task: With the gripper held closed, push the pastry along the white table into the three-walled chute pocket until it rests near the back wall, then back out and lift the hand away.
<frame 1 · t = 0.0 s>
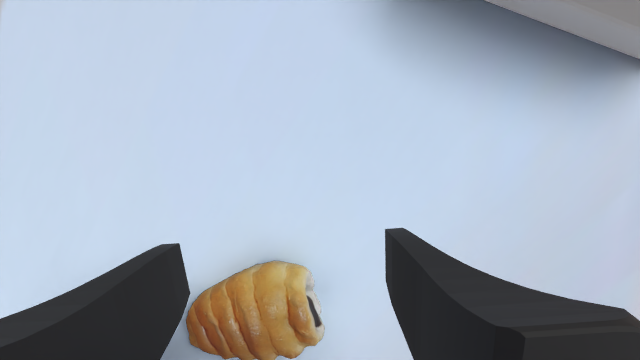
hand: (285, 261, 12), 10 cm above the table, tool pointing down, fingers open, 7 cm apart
pastry: (266, 300, 25), on the table
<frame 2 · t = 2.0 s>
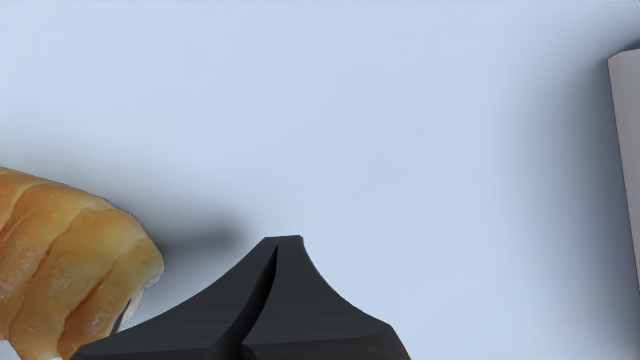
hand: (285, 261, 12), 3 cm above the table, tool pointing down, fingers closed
pastry: (71, 248, 15), on the table
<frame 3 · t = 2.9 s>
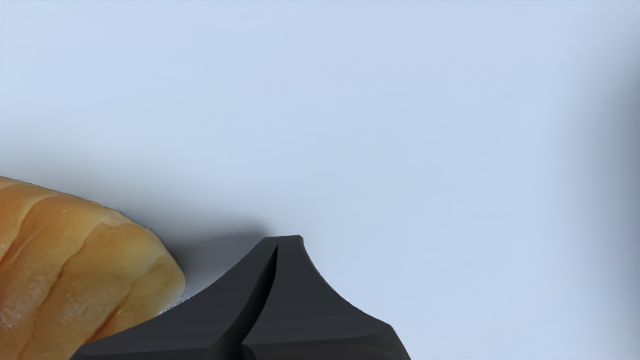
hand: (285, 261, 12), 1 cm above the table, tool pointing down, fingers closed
pastry: (83, 265, 14), on the table
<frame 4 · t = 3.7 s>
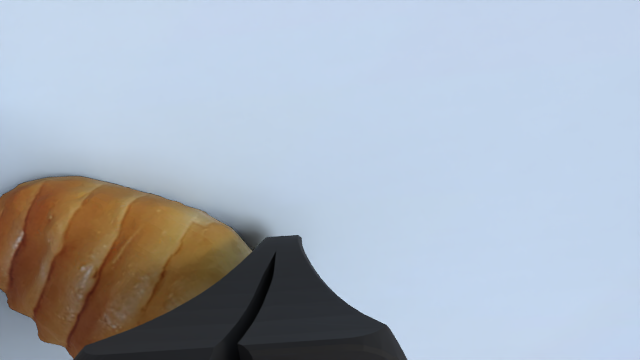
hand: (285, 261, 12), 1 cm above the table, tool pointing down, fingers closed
pastry: (160, 265, 14), on the table, touching gripper
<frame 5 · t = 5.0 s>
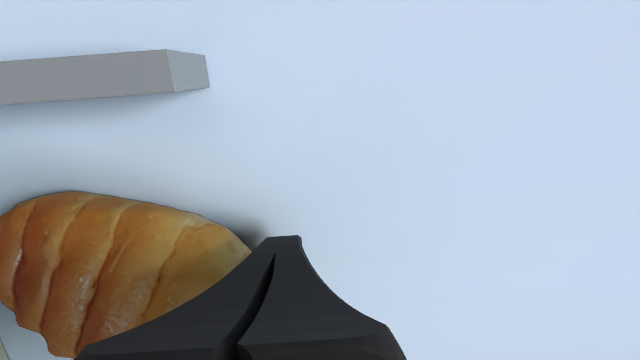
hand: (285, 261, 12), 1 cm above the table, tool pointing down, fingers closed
chute dock: (120, 255, 13), on the table
pastry: (162, 272, 14), on the table, touching gripper
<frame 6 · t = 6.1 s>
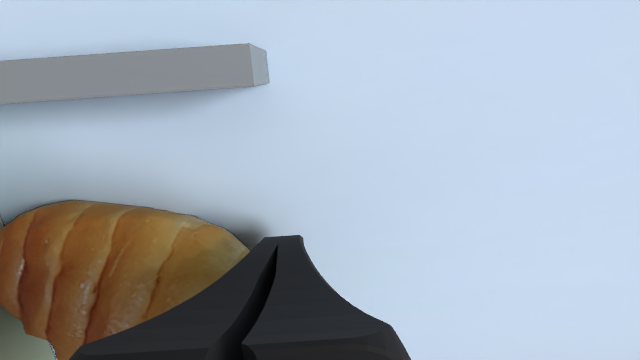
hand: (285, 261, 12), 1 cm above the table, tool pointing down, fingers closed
chute dock: (171, 251, 13), on the table
pastry: (164, 275, 14), on the table
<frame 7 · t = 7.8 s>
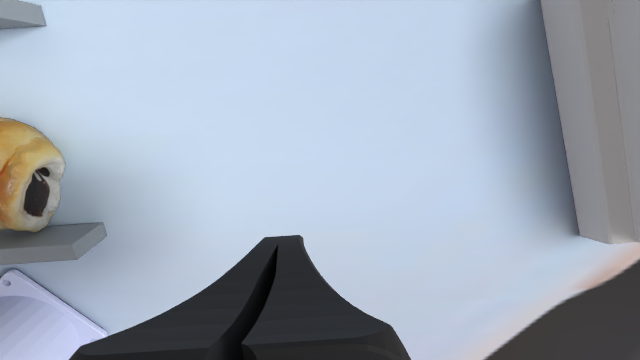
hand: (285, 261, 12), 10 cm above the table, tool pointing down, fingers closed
chute dock: (3, 137, 21), on the table
pastry: (7, 164, 22), on the table
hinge: (619, 105, 21), on the table
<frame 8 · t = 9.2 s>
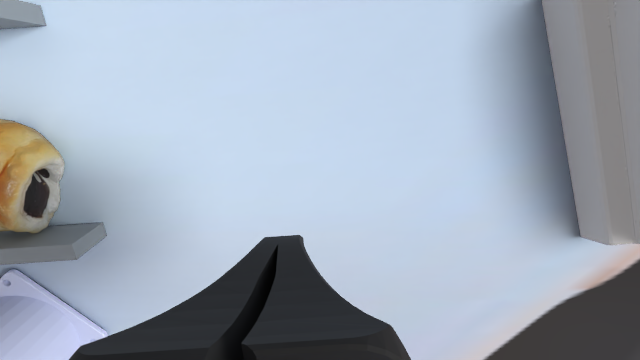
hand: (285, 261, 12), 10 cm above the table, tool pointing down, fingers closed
chute dock: (3, 137, 21), on the table
pastry: (6, 166, 22), on the table
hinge: (620, 106, 21), on the table
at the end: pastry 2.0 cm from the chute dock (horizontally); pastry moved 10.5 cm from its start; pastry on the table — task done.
